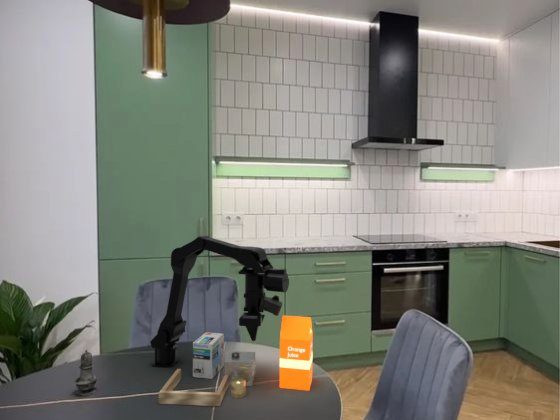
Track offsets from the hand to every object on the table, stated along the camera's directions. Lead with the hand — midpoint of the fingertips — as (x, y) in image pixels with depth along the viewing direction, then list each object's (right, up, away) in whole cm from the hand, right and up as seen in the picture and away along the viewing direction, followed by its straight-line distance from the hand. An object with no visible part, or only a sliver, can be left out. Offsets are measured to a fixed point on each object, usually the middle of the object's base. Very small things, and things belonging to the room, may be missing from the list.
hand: (253, 340), depth 116 cm
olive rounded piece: (-4, -12, -9) cm, 16 cm away
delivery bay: (-16, -12, -7) cm, 21 cm away
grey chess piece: (-47, -12, -8) cm, 49 cm away
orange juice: (+13, -12, -2) cm, 18 cm away
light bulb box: (-15, -12, +6) cm, 20 cm away
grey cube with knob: (-4, -12, 0) cm, 12 cm away
